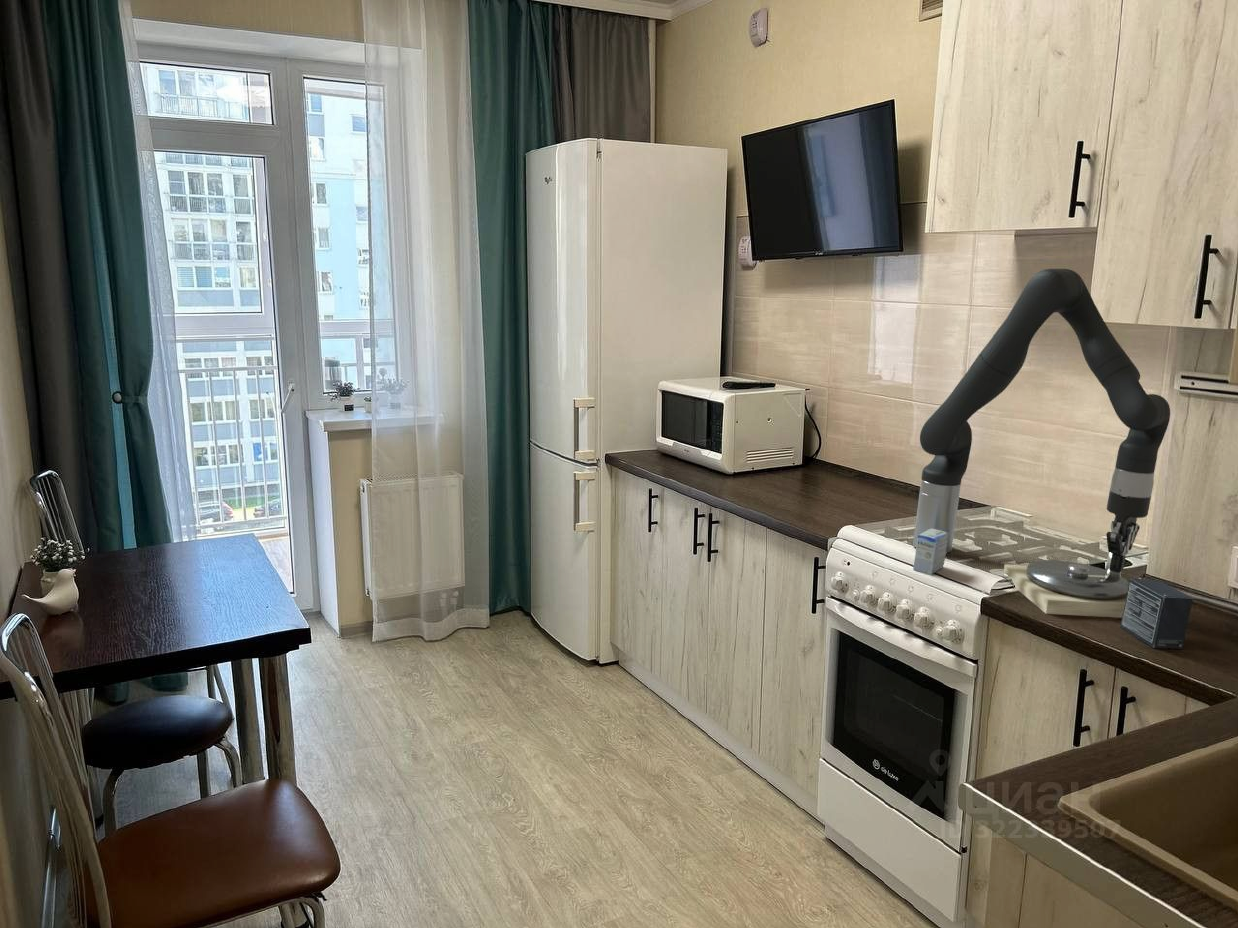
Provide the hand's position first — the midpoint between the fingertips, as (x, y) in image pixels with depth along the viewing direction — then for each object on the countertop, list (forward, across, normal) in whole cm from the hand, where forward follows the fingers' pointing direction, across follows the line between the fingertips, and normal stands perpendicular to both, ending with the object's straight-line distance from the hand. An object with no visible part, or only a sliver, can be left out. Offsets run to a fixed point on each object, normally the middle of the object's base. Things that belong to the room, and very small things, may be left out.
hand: (1115, 571), depth 190 cm
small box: (+8, +11, +11) cm, 18 cm away
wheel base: (+8, 0, -7) cm, 11 cm away
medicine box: (+8, +10, -36) cm, 38 cm away
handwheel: (+5, 0, -7) cm, 9 cm away
